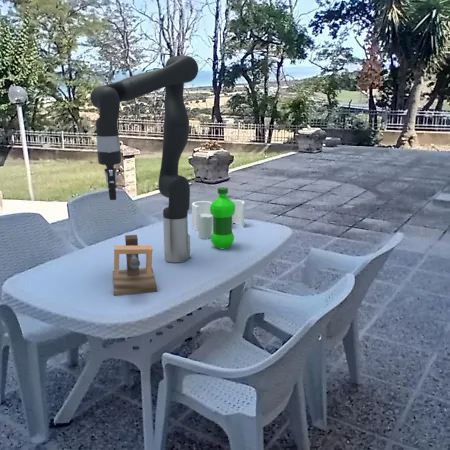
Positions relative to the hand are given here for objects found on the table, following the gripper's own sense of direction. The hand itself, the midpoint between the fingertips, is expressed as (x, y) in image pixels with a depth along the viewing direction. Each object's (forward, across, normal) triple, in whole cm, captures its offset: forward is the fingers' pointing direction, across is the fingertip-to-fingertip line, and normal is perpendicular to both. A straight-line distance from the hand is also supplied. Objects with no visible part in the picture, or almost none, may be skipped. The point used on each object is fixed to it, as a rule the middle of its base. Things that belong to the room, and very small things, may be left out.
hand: (112, 196), depth 163 cm
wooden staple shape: (+22, +14, +4) cm, 27 cm away
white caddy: (+30, -48, +49) cm, 74 cm away
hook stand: (+28, +12, +5) cm, 31 cm away
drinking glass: (+30, -34, +39) cm, 60 cm away
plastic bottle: (+29, -19, +44) cm, 56 cm away
